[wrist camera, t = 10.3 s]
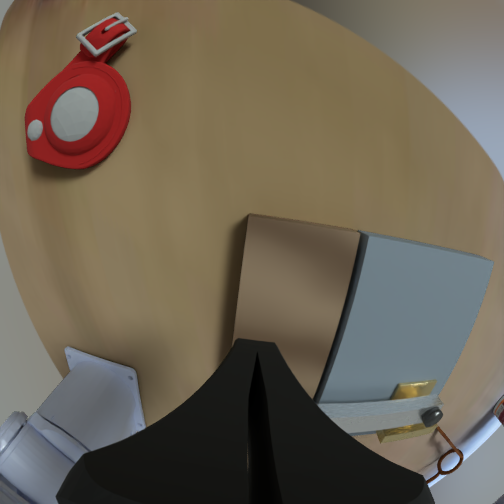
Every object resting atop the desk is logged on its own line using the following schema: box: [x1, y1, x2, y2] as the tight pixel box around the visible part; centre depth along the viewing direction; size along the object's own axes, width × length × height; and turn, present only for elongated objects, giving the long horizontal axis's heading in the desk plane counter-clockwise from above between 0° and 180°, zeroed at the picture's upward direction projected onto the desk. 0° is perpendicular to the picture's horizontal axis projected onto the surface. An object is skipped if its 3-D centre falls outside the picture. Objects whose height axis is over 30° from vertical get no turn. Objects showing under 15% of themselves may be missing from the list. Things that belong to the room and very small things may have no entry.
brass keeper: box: [376, 379, 438, 443], centre depth 17 cm, size 4×6×3 cm
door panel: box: [313, 230, 494, 436], centre depth 18 cm, size 18×13×2 cm
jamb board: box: [232, 213, 360, 400], centre depth 18 cm, size 18×7×3 cm, turn 172°
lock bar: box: [317, 394, 444, 433], centre depth 16 cm, size 15×3×2 cm, turn 83°
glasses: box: [426, 426, 463, 484], centre depth 22 cm, size 13×13×5 cm
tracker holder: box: [25, 13, 137, 169], centre depth 14 cm, size 12×4×10 cm
